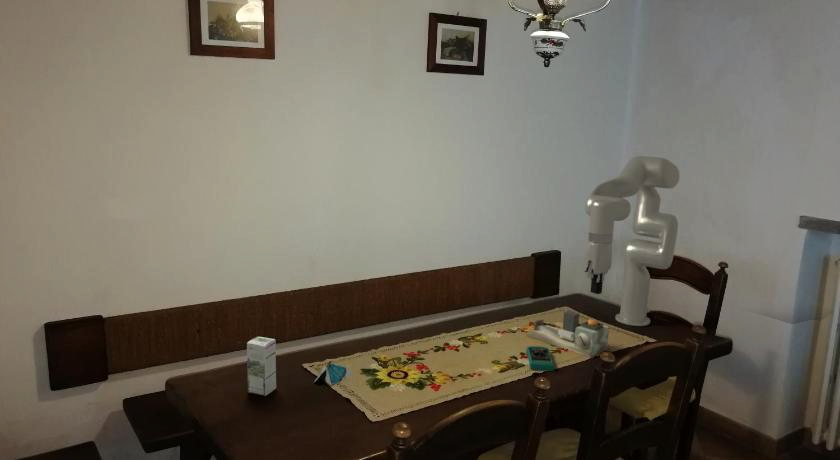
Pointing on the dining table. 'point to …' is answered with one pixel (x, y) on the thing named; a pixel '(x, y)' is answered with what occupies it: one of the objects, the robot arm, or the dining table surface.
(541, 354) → the digital multimeter
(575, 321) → the carriage
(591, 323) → the button
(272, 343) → the syrup box
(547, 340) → the rail bed
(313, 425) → the dining table surface
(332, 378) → the decorative butterfly
